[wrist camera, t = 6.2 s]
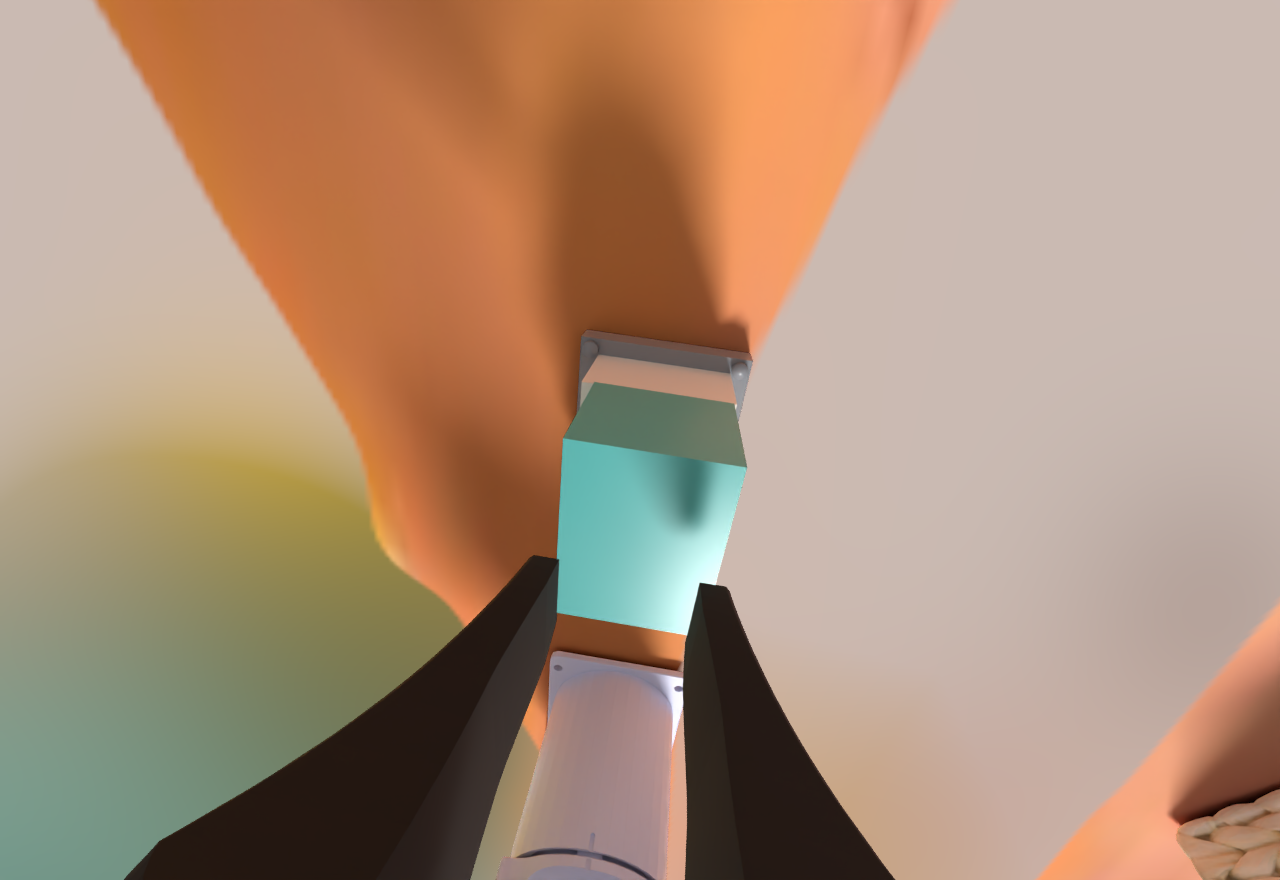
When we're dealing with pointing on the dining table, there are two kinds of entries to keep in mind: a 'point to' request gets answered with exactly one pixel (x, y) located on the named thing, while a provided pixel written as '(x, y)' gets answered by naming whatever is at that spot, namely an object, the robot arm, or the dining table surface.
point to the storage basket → (1236, 841)
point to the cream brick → (659, 378)
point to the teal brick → (645, 504)
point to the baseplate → (666, 357)
